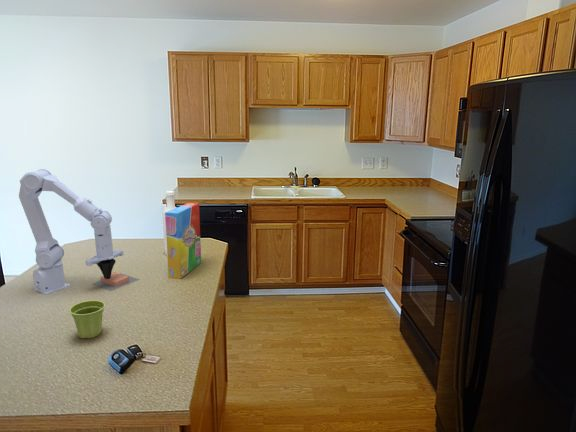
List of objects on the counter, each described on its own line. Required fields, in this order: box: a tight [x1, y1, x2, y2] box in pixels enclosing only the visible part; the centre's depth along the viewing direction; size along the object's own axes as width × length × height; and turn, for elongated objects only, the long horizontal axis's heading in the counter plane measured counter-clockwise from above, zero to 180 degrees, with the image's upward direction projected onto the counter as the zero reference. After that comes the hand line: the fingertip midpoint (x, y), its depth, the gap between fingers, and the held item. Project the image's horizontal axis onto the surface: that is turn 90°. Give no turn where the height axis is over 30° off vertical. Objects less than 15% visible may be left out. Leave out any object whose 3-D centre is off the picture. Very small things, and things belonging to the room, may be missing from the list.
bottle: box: [162, 190, 178, 257], centre depth 187 cm, size 8×8×30 cm
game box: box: [165, 202, 202, 280], centre depth 168 cm, size 21×6×27 cm, turn 168°
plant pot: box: [68, 299, 106, 339], centre depth 119 cm, size 9×9×9 cm
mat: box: [91, 272, 141, 292], centre depth 157 cm, size 13×12×1 cm
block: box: [100, 271, 129, 287], centre depth 156 cm, size 2×9×6 cm
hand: (107, 278), depth 153 cm, fingers closed
